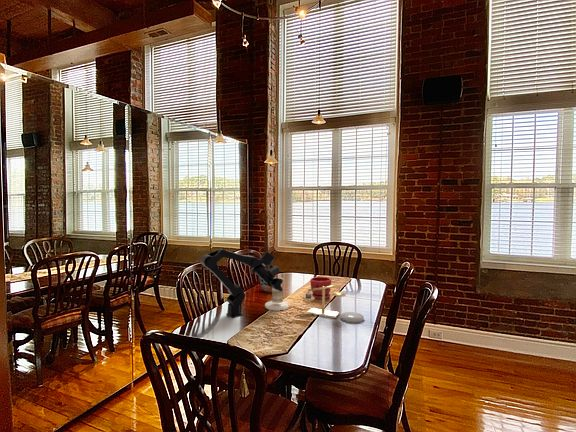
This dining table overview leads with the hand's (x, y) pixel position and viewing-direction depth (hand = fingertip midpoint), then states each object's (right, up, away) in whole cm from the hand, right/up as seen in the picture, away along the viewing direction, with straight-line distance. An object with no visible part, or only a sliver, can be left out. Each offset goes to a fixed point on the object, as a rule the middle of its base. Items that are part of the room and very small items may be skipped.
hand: (279, 289), depth 203 cm
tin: (-6, -8, +32) cm, 33 cm away
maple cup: (-1, -7, 0) cm, 7 cm away
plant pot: (+26, -9, +20) cm, 34 cm away
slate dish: (+39, -12, -18) cm, 44 cm away
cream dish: (-1, -10, 0) cm, 10 cm away
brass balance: (+24, -11, -11) cm, 29 cm away
